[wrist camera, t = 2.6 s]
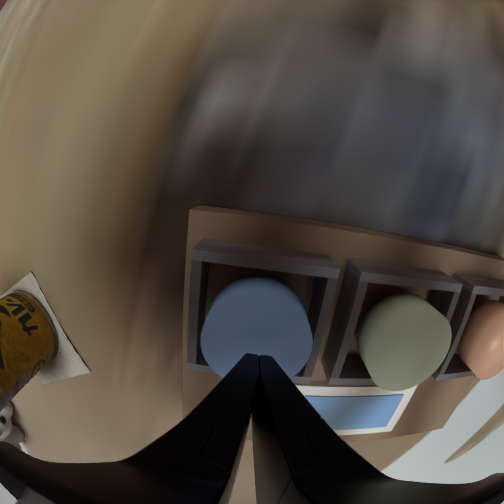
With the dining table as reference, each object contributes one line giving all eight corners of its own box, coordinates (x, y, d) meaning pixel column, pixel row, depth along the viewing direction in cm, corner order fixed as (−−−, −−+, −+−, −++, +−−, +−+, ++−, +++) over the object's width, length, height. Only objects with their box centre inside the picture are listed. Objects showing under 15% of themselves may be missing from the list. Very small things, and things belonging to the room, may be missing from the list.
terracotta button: (511, 300, 11) (531, 313, 9) (487, 359, 12) (504, 375, 10) (473, 297, 11) (495, 313, 9) (447, 363, 12) (463, 383, 10)
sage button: (441, 295, 11) (463, 312, 9) (414, 365, 12) (430, 388, 10) (370, 287, 11) (388, 308, 9) (346, 365, 12) (357, 392, 10)
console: (499, 256, 14) (537, 273, 10) (433, 413, 18) (451, 443, 14) (199, 205, 14) (176, 215, 10) (189, 409, 18) (177, 451, 14)
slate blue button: (314, 281, 11) (323, 302, 9) (295, 362, 12) (299, 391, 10) (213, 268, 11) (203, 287, 9) (207, 352, 12) (198, 379, 10)
